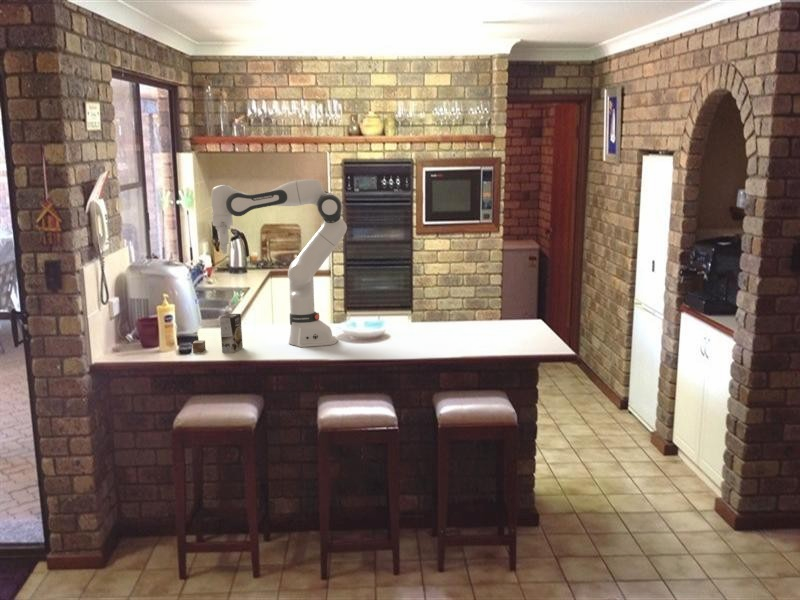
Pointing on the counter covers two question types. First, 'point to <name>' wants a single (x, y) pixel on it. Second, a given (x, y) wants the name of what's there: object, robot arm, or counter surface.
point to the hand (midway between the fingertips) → (224, 252)
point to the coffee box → (231, 333)
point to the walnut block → (199, 346)
